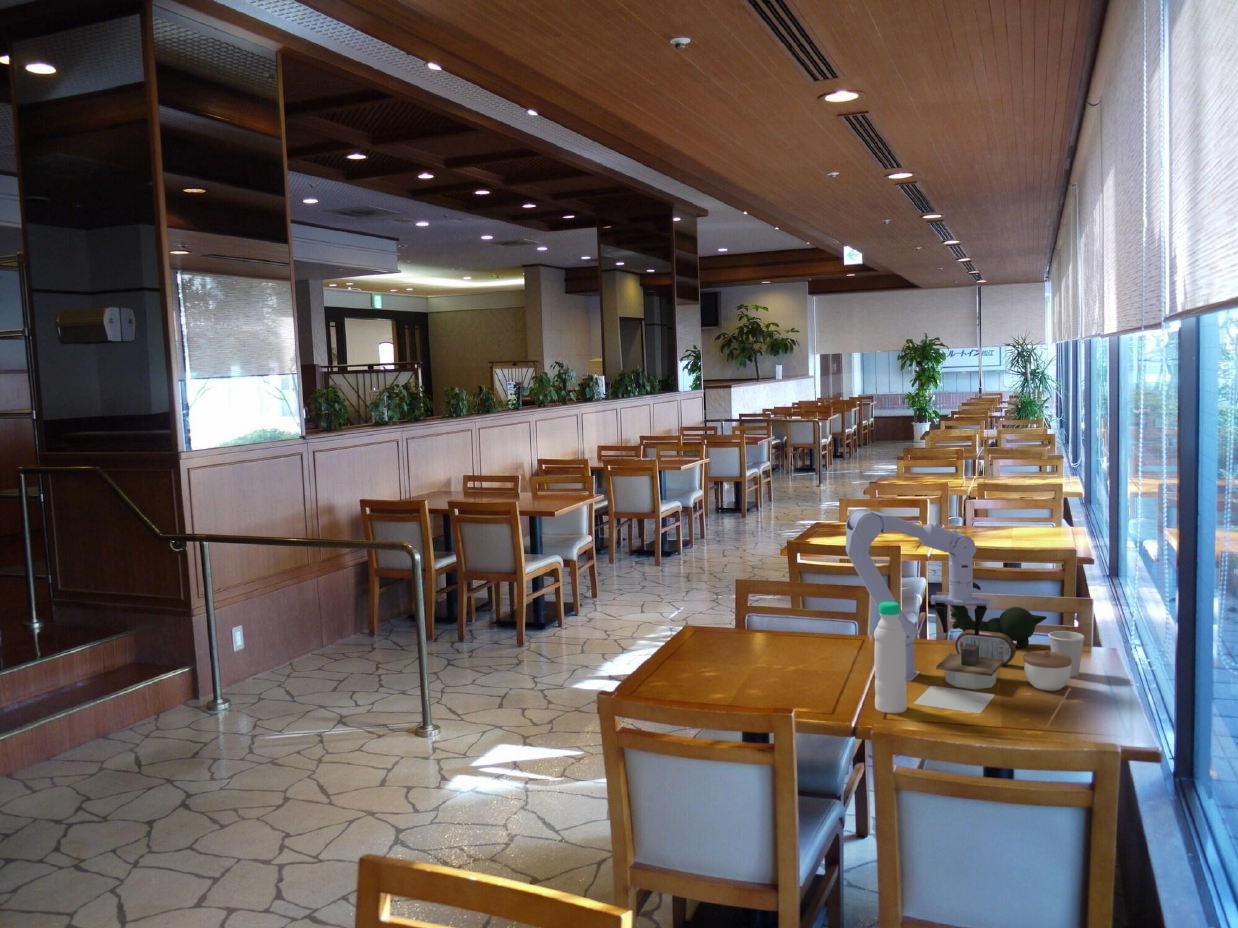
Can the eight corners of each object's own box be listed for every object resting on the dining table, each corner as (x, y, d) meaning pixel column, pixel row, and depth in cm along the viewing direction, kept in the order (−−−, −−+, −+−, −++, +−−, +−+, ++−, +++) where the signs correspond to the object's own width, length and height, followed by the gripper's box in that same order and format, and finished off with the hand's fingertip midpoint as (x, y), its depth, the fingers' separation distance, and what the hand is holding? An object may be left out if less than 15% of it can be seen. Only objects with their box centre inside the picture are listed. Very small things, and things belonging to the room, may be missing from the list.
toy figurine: (952, 651, 278) (1048, 651, 267) (945, 585, 277) (1041, 582, 266) (957, 643, 286) (1050, 642, 275) (950, 578, 286) (1043, 575, 274)
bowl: (941, 686, 243) (941, 668, 242) (953, 674, 252) (953, 656, 252) (988, 692, 237) (988, 674, 236) (999, 679, 246) (999, 662, 246)
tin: (1016, 665, 258) (1016, 633, 257) (1013, 668, 255) (1013, 636, 255) (957, 658, 266) (956, 627, 265) (954, 661, 263) (953, 630, 263)
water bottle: (901, 716, 222) (900, 607, 220) (870, 712, 226) (869, 604, 224) (910, 707, 228) (909, 601, 226) (880, 703, 232) (878, 598, 230)
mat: (913, 705, 230) (913, 703, 230) (931, 687, 242) (931, 685, 242) (979, 715, 222) (979, 713, 222) (995, 695, 234) (995, 694, 234)
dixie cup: (1064, 667, 254) (1064, 629, 254) (1092, 675, 247) (1092, 636, 246) (1040, 672, 251) (1040, 633, 250) (1068, 680, 243) (1068, 641, 243)
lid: (936, 669, 242) (936, 650, 241) (950, 655, 253) (950, 637, 252) (991, 676, 235) (991, 656, 234) (1003, 662, 246) (1003, 643, 245)
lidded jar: (1076, 696, 232) (1076, 657, 231) (1028, 694, 234) (1028, 656, 233) (1065, 681, 242) (1065, 644, 242) (1019, 680, 245) (1019, 643, 244)
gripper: (928, 582, 250) (928, 634, 251) (988, 585, 243) (988, 639, 245) (933, 576, 257) (934, 628, 258) (992, 580, 250) (993, 633, 251)
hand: (961, 633), depth 252 cm, fingers open, 7 cm apart
